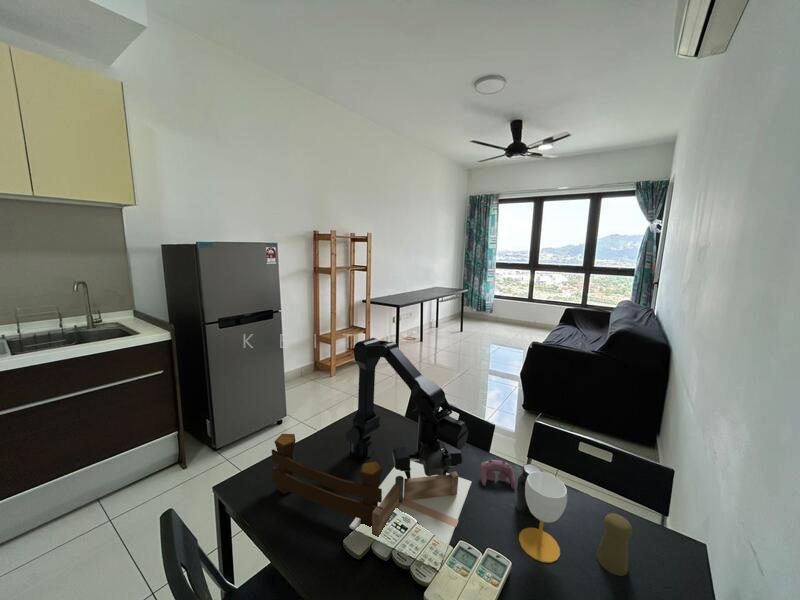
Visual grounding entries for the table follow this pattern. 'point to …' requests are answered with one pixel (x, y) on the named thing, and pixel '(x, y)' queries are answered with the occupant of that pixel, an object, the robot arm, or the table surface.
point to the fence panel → (431, 486)
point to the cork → (615, 544)
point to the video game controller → (497, 465)
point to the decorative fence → (327, 483)
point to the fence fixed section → (387, 506)
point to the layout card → (428, 504)
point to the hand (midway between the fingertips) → (425, 482)
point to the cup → (543, 515)
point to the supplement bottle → (520, 496)
